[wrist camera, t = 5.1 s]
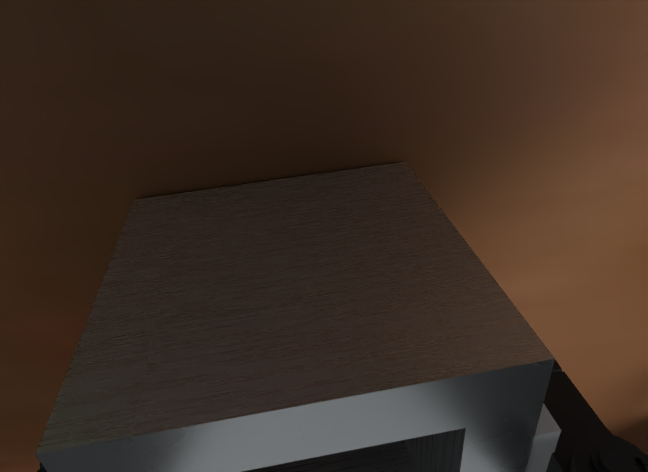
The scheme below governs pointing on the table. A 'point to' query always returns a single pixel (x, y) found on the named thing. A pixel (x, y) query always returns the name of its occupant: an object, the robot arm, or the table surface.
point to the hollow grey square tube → (299, 339)
